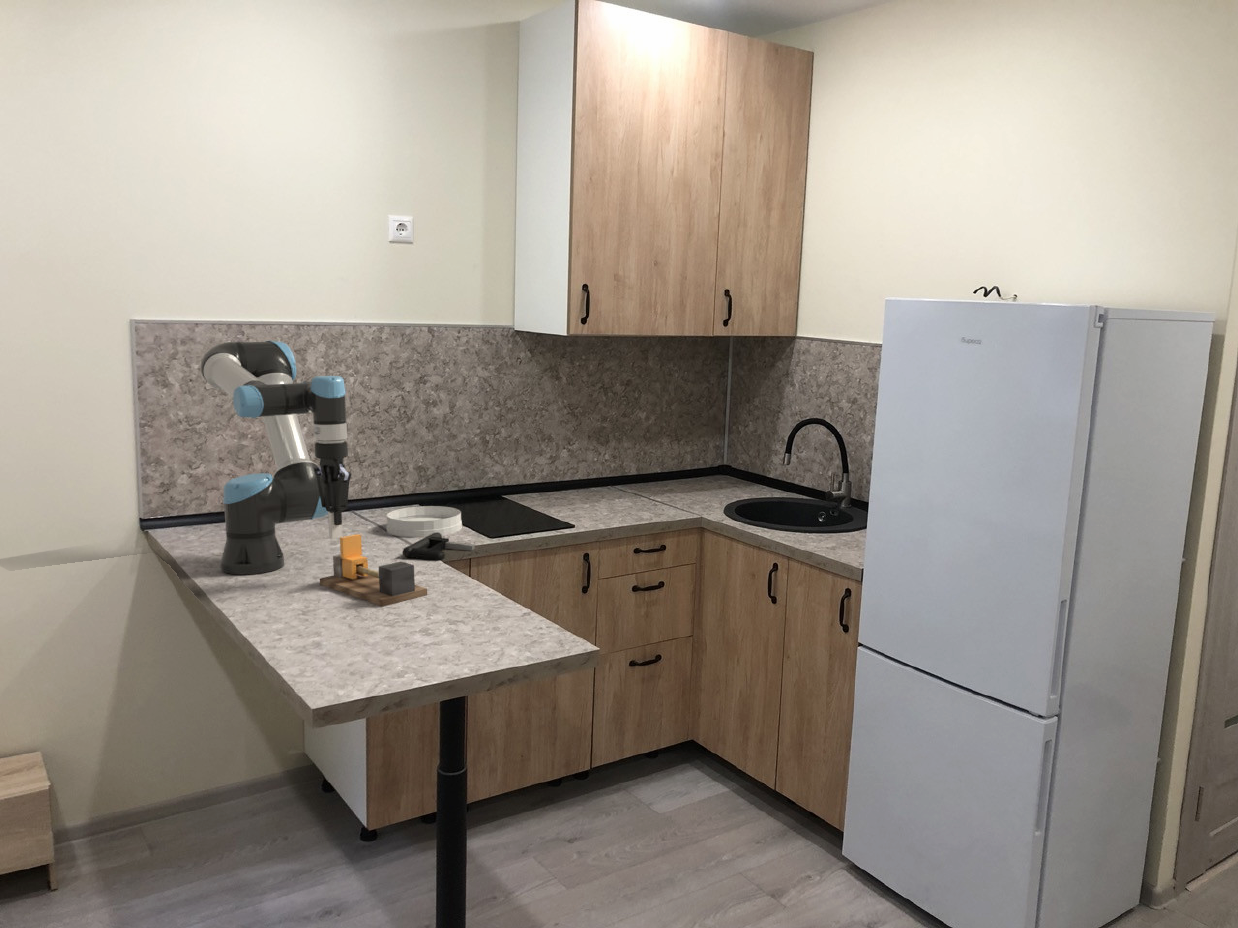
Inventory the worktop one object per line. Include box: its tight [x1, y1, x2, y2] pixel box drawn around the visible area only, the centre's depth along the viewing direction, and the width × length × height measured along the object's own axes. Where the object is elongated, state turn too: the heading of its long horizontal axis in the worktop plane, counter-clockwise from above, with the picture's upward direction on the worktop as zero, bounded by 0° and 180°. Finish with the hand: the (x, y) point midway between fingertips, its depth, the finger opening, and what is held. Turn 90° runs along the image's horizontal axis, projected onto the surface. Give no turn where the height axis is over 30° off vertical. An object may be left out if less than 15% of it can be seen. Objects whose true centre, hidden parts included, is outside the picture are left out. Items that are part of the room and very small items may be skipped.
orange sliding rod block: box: [339, 533, 369, 579], centre depth 232 cm, size 4×5×10 cm
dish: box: [385, 505, 463, 538], centre depth 292 cm, size 22×22×5 cm
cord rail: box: [319, 553, 428, 607], centre depth 228 cm, size 26×12×8 cm, turn 47°
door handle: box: [402, 532, 476, 561], centre depth 265 cm, size 3×20×16 cm
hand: (335, 537), depth 237 cm, fingers closed
